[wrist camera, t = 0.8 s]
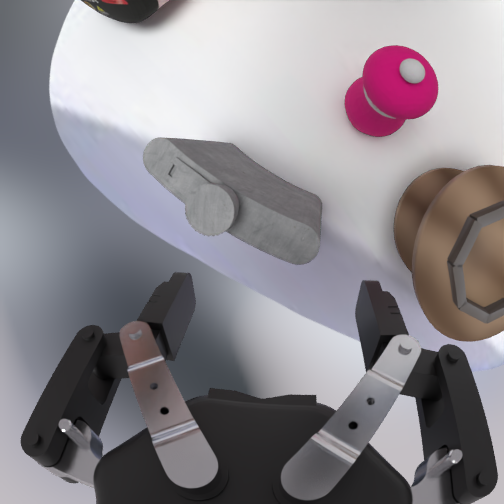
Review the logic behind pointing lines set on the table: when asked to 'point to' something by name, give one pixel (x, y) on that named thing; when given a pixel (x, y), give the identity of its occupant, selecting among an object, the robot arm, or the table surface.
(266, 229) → the hip flask
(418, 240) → the ring stand
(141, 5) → the packaged food
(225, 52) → the table surface
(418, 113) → the pepper mill
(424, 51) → the table surface
